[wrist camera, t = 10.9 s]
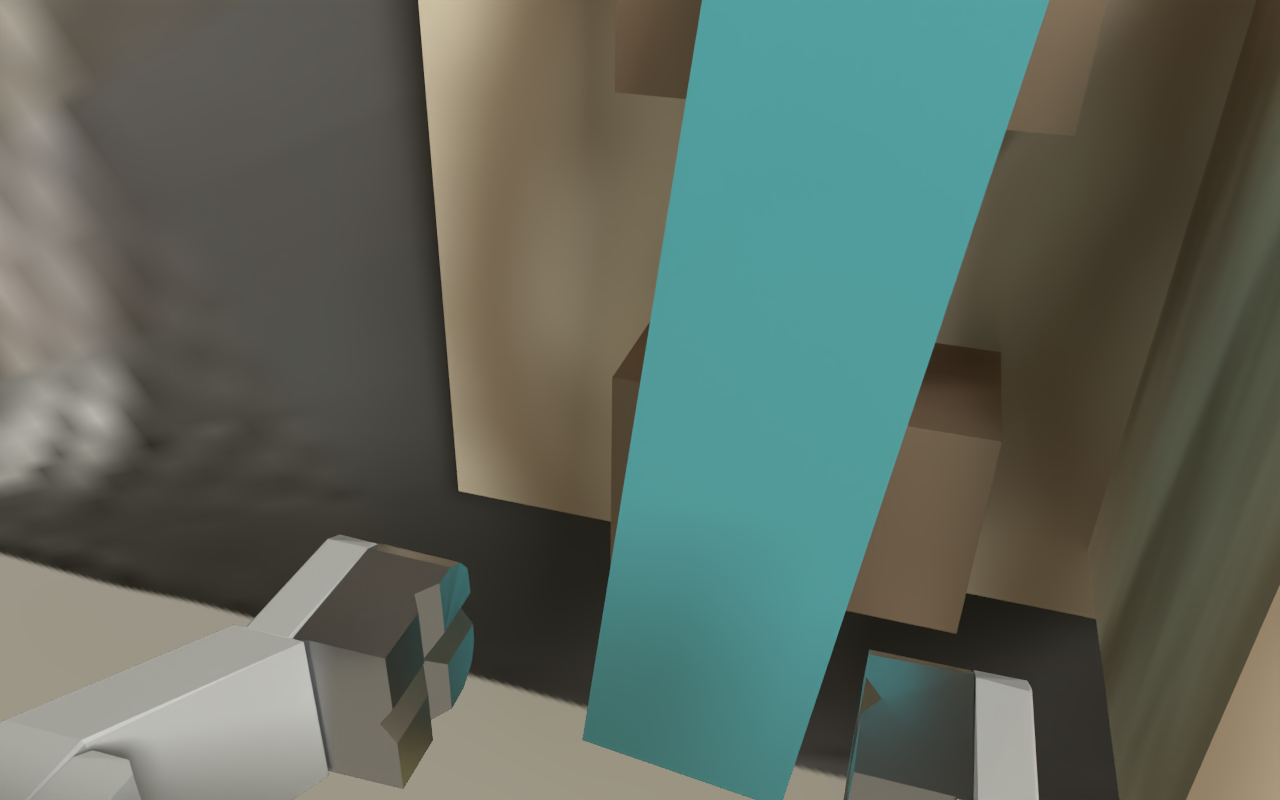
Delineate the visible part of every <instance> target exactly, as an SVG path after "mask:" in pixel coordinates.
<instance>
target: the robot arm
mask: <svg viewBox="0 0 1280 800" xmlns="http://www.w3.org/2000/svg"><path fill="white" fill-rule="evenodd" d="M470 593H471V592H470V584H469V576H468V568H466V567H465V566H464V565H463V564H461V563H460V562H456V561H452V560H448V559H443V558H439V557H435V556H431V555H427V554H422V553H418V552H414V551H410V550H406V549H402V548H397V547H393V546H389V545H385V544H381V543H380V544H376V543H372V542H368V541H364V540H360V539H356V538H352V537H348V536H344V535H337V536H335V537H332V538H329V539H327V540H326V541H325V542H324V543H323V544H322V545H321V546H320V547H319V548H318V550H317V551H316V552H315V553H314V554H313V555H312V556H311V557H310V558H309V559H308V560H307V562H306V563H305V564H304V565H303V566H302V567H301V568H300V569H299V570H298V571H297V572H296V573H295V575H294V576H293V577H292V578H291V579H290V580H289V581H288V582H287V583H286V584H285V585H284V586H283V588H282V589H281V590H280V591H279V592H278V593H277V594H276V595H275V596H274V597H273V598H272V600H271V601H270V602H269V603H268V604H267V605H266V606H265V607H264V608H263V609H262V610H261V611H260V613H259V614H258V615H257V616H256V617H255V618H254V619H253V620H252V621H251V622H250V623H249V625H248V626H247V627H242V626H237V625H232V626H229V627H227V628H225V629H222V630H220V631H217V632H215V633H213V634H210V635H208V636H206V637H203V638H200V639H198V640H196V641H193V642H191V643H188V644H186V645H184V646H181V647H179V648H176V649H174V650H172V651H169V652H167V653H164V654H162V655H160V656H157V657H155V658H152V659H150V660H148V661H145V662H143V663H140V664H138V665H135V666H133V667H131V668H128V669H126V670H124V671H121V672H119V673H116V674H114V675H111V676H109V677H107V678H104V679H102V680H99V681H97V682H95V683H92V684H90V685H87V686H85V687H83V688H80V689H78V690H75V691H73V692H71V693H68V694H66V695H63V696H61V697H59V698H56V699H54V700H51V701H49V702H47V703H44V704H42V705H39V706H37V707H35V708H32V709H30V710H27V711H25V712H22V713H20V714H18V715H15V716H13V717H10V718H8V719H6V720H4V721H3V722H1V723H0V800H293V799H295V798H296V797H298V796H299V795H301V794H302V793H303V792H305V791H306V790H308V789H309V788H311V787H312V786H314V785H315V784H317V783H318V782H320V781H321V780H323V779H324V778H326V777H327V776H328V775H329V772H328V771H332V772H336V773H340V774H344V775H348V776H353V777H356V778H361V779H365V780H369V781H373V782H377V783H382V784H386V785H390V786H394V787H398V788H402V789H403V788H404V787H405V785H406V783H407V782H408V780H409V778H410V777H411V775H412V774H413V772H414V770H415V769H416V767H417V765H418V764H419V762H420V760H421V759H422V757H423V755H424V753H425V752H426V750H427V749H428V747H429V746H430V744H431V742H432V741H433V737H432V727H431V719H433V718H435V717H437V716H439V715H440V714H442V713H444V712H446V711H448V710H450V709H452V707H453V705H454V703H455V702H456V700H457V698H458V696H459V695H460V693H461V691H462V689H463V687H464V684H465V681H466V678H467V675H468V672H469V669H470V666H471V663H472V656H473V647H474V632H473V623H472V622H471V621H470V619H469V618H468V617H467V615H466V614H465V613H464V612H463V610H462V609H461V606H462V605H463V603H464V602H465V600H466V599H467V597H468V596H469V594H470ZM844 800H1039V796H1038V780H1037V763H1036V747H1035V731H1034V714H1033V698H1032V688H1031V687H1030V685H1029V683H1028V681H1026V680H1021V679H1016V678H1011V677H1006V676H1001V675H996V674H990V673H985V672H980V671H975V670H974V671H973V672H972V671H971V670H967V669H962V668H957V667H952V666H947V665H942V664H937V663H932V662H928V661H923V660H918V659H913V658H908V657H903V656H898V655H894V654H889V653H884V652H879V651H874V650H869V655H868V659H867V664H866V670H865V675H864V680H863V687H862V694H861V700H860V707H859V711H858V713H857V720H856V726H855V732H854V738H853V744H852V749H851V755H850V760H849V766H848V774H847V781H846V788H845V795H844Z"/></svg>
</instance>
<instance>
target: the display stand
mask: <svg viewBox="0 0 1280 800" xmlns="http://www.w3.org/2000/svg"><path fill="white" fill-rule="evenodd" d="M418 4H419V17H420V29H421V41H422V53H423V65H424V77H425V90H426V102H427V114H428V126H429V138H430V150H431V163H432V175H433V187H434V199H435V211H436V223H437V235H438V248H439V260H440V272H441V284H442V296H443V308H444V321H445V333H446V345H447V357H448V369H449V381H450V394H451V406H452V418H453V430H454V442H455V454H456V466H457V479H458V491H461V492H466V493H471V494H476V495H481V496H486V497H490V498H495V499H500V500H505V501H510V502H515V503H520V504H525V505H530V506H535V507H540V508H545V509H550V510H555V511H560V512H565V513H570V514H575V515H580V516H585V517H590V518H595V519H600V520H605V521H610V522H611V549H610V561H612V554H613V548H614V542H615V536H616V530H617V524H618V517H619V511H620V505H621V499H622V493H623V486H624V480H625V474H626V468H627V462H628V455H629V449H630V443H631V437H632V431H633V425H634V418H635V412H636V406H637V400H638V394H639V387H640V381H641V375H642V369H643V363H644V356H645V350H646V344H647V338H648V332H649V325H650V319H651V313H652V307H653V301H654V295H655V288H656V282H657V276H658V270H659V264H660V257H661V251H662V245H663V239H664V233H665V226H666V220H667V214H668V208H669V202H670V196H671V189H672V183H673V177H674V171H675V165H676V158H677V152H678V146H679V140H680V134H681V127H682V121H683V115H684V109H685V103H686V97H687V90H688V84H689V78H690V72H691V66H692V59H693V53H694V47H695V41H696V35H697V28H698V22H699V16H700V10H701V4H702V0H418ZM966 593H969V594H974V595H979V596H984V597H989V598H994V599H999V600H1004V601H1009V602H1014V603H1019V604H1024V605H1029V606H1034V607H1039V608H1044V609H1049V610H1054V611H1058V612H1063V613H1068V614H1073V615H1078V616H1083V617H1088V618H1093V619H1096V623H1097V631H1098V638H1099V646H1100V654H1101V662H1102V669H1103V677H1104V685H1105V693H1106V700H1107V708H1108V716H1109V723H1110V731H1111V739H1112V747H1113V754H1114V762H1115V770H1116V778H1117V785H1118V793H1119V800H1280V0H1049V3H1048V6H1047V9H1046V12H1045V15H1044V18H1043V21H1042V24H1041V27H1040V30H1039V33H1038V36H1037V39H1036V42H1035V45H1034V48H1033V51H1032V54H1031V57H1030V60H1029V63H1028V66H1027V69H1026V72H1025V75H1024V78H1023V81H1022V84H1021V87H1020V90H1019V93H1018V96H1017V99H1016V102H1015V105H1014V108H1013V111H1012V114H1011V117H1010V120H1009V123H1008V126H1007V129H1006V132H1005V135H1004V138H1003V141H1002V144H1001V147H1000V150H999V153H998V156H997V159H996V162H995V165H994V168H993V171H992V174H991V177H990V180H989V183H988V186H987V189H986V192H985V195H984V198H983V201H982V204H981V207H980V210H979V213H978V216H977V219H976V222H975V225H974V228H973V231H972V234H971V237H970V240H969V243H968V246H967V249H966V252H965V255H964V258H963V261H962V264H961V267H960V270H959V273H958V276H957V279H956V282H955V285H954V288H953V291H952V294H951V297H950V300H949V303H948V306H947V309H946V312H945V315H944V318H943V321H942V324H941V327H940V330H939V333H938V336H937V339H936V342H935V345H934V348H933V351H932V354H931V357H930V360H929V363H928V366H927V369H926V372H925V375H924V378H923V381H922V384H921V387H920V390H919V393H918V396H917V399H916V402H915V405H914V408H913V411H912V414H911V417H910V420H909V423H908V426H907V429H906V432H905V435H904V438H903V441H902V444H901V447H900V450H899V453H898V456H897V459H896V462H895V465H894V468H893V471H892V474H891V477H890V480H889V483H888V486H887V489H886V492H885V495H884V498H883V501H882V504H881V507H880V510H879V513H878V516H877V519H876V522H875V525H874V528H873V531H872V534H871V537H870V540H869V543H868V546H867V549H866V552H865V555H864V558H863V561H862V564H861V567H860V570H859V573H858V576H857V579H856V582H855V585H854V588H853V591H852V594H851V597H850V600H849V603H848V606H847V609H846V611H850V612H855V613H860V614H865V615H869V616H874V617H879V618H884V619H888V620H893V621H898V622H903V623H907V624H912V625H917V626H922V627H927V628H931V629H936V630H941V631H946V632H950V633H955V634H957V630H958V625H959V621H960V617H961V613H962V608H963V604H964V600H965V596H966Z"/></svg>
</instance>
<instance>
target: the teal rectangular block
mask: <svg viewBox="0 0 1280 800" xmlns="http://www.w3.org/2000/svg"><path fill="white" fill-rule="evenodd" d="M1048 3H1049V0H702V4H701V10H700V16H699V22H698V28H697V35H696V41H695V47H694V53H693V59H692V66H691V72H690V78H689V84H688V90H687V97H686V103H685V109H684V115H683V121H682V127H681V134H680V140H679V146H678V152H677V158H676V165H675V171H674V177H673V183H672V189H671V196H670V202H669V208H668V214H667V220H666V226H665V233H664V239H663V245H662V251H661V257H660V264H659V270H658V276H657V282H656V288H655V295H654V301H653V307H652V313H651V319H650V325H649V332H648V338H647V344H646V350H645V356H644V363H643V369H642V375H641V381H640V387H639V394H638V400H637V406H636V412H635V418H634V425H633V431H632V437H631V443H630V449H629V455H628V462H627V468H626V474H625V480H624V486H623V493H622V499H621V505H620V511H619V517H618V524H617V530H616V536H615V542H614V548H613V554H612V561H611V567H610V573H609V579H608V585H607V592H606V598H605V604H604V610H603V616H602V623H601V629H600V635H599V641H598V647H597V653H596V660H595V666H594V672H593V678H592V684H591V691H590V697H589V703H588V709H587V716H586V722H585V728H584V734H583V740H584V741H587V742H590V743H593V744H596V745H598V746H601V747H604V748H607V749H610V750H613V751H616V752H619V753H622V754H625V755H627V756H631V757H633V758H636V759H639V760H642V761H645V762H648V763H651V764H654V765H657V766H659V767H662V768H665V769H668V770H671V771H674V772H677V773H680V774H683V775H685V776H688V777H691V778H694V779H697V780H700V781H703V782H706V783H709V784H712V785H715V786H718V787H720V788H723V789H726V790H729V791H732V792H735V793H738V794H741V795H744V796H747V797H750V798H752V799H755V800H783V798H784V794H785V792H786V789H787V785H788V783H789V780H790V776H791V774H792V771H793V768H794V765H795V762H796V759H797V756H798V753H799V750H800V747H801V744H802V741H803V738H804V735H805V732H806V729H807V726H808V723H809V720H810V717H811V714H812V711H813V708H814V705H815V702H816V699H817V696H818V693H819V690H820V687H821V684H822V681H823V678H824V675H825V672H826V669H827V666H828V663H829V660H830V657H831V654H832V651H833V648H834V645H835V642H836V639H837V636H838V633H839V630H840V627H841V624H842V621H843V618H844V615H845V612H846V609H847V606H848V603H849V600H850V597H851V594H852V591H853V588H854V585H855V582H856V579H857V576H858V573H859V570H860V567H861V564H862V561H863V558H864V555H865V552H866V549H867V546H868V543H869V540H870V537H871V534H872V531H873V528H874V525H875V522H876V519H877V516H878V513H879V510H880V507H881V504H882V501H883V498H884V495H885V492H886V489H887V486H888V483H889V480H890V477H891V474H892V471H893V468H894V465H895V462H896V459H897V456H898V453H899V450H900V447H901V444H902V441H903V438H904V435H905V432H906V429H907V426H908V423H909V420H910V417H911V414H912V411H913V408H914V405H915V402H916V399H917V396H918V393H919V390H920V387H921V384H922V381H923V378H924V375H925V372H926V369H927V366H928V363H929V360H930V357H931V354H932V351H933V348H934V345H935V342H936V339H937V336H938V333H939V330H940V327H941V324H942V321H943V318H944V315H945V312H946V309H947V306H948V303H949V300H950V297H951V294H952V291H953V288H954V285H955V282H956V279H957V276H958V273H959V270H960V267H961V264H962V261H963V258H964V255H965V252H966V249H967V246H968V243H969V240H970V237H971V234H972V231H973V228H974V225H975V222H976V219H977V216H978V213H979V210H980V207H981V204H982V201H983V198H984V195H985V192H986V189H987V186H988V183H989V180H990V177H991V174H992V171H993V168H994V165H995V162H996V159H997V156H998V153H999V150H1000V147H1001V144H1002V141H1003V138H1004V135H1005V132H1006V129H1007V126H1008V123H1009V120H1010V117H1011V114H1012V111H1013V108H1014V105H1015V102H1016V99H1017V96H1018V93H1019V90H1020V87H1021V84H1022V81H1023V78H1024V75H1025V72H1026V69H1027V66H1028V63H1029V60H1030V57H1031V54H1032V51H1033V48H1034V45H1035V42H1036V39H1037V36H1038V33H1039V30H1040V27H1041V24H1042V21H1043V18H1044V15H1045V12H1046V9H1047V6H1048Z"/></svg>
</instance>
